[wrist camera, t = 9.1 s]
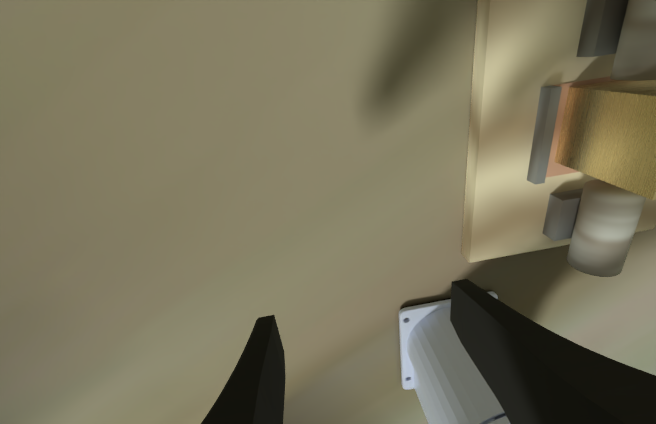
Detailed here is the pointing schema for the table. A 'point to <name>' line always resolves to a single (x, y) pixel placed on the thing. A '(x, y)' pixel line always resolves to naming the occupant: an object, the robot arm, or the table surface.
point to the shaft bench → (549, 129)
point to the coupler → (612, 134)
